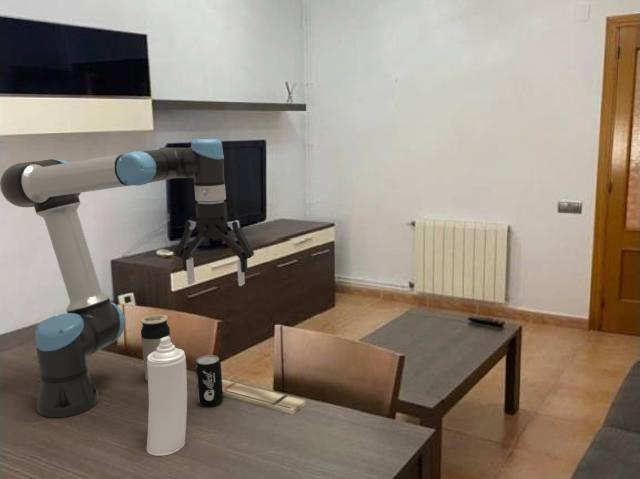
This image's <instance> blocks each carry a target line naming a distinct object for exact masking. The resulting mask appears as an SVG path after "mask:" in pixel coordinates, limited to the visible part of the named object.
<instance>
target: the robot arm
mask: <svg viewBox="0 0 640 479" xmlns="http://www.w3.org/2000/svg"><path fill="white" fill-rule="evenodd" d="M224 160H225V156H224V149H223V142H222V140H220V139H218V138H201V139H200V138H199V139H197V138H196V139H193V140H192V141H191V146H190V147H158V148H157V147H156V148H153V149H149V150H136V151H135V150H134V151H130V152H127V153H121V154H115V155H108V156H104V157H102V156H101V157H97V158H89V159H84V160H79V161H72V162H69V161H68V160H65V159H52V158H50V159H44V160H37V161H29V162H19V163H15V164H13V165H11V166H9V167H8V168H7V169H6V170H4V172H3V173H2V175H1V177H0V192H1V193H2V195H3V197H4V198H5V200H6V201H8V202H9V203H10V204H12V205H13V206H15V207H19V208H34V211H35V213H36V215H37V216H39V217H41V218H42V219H44V221H45V226H46V229H47V232H48V235H49V238H50V241H51V245H52V248H53V251H54V254H55V257H56V260H57V265H58V268H59V270H60V274H61V278H62V281H63V283H64V286H65V290H66V292H67V296H68V298H69V299H68V300H69V303H68V306H67V307H66V313H61V314H58V315H52V316H51V317H48V318H46V319H44V320H42V321H41V322H40V323H39V324H38V325H37V326H36V328H35V332H34V333H35V342H34V343H35V346H36V353H37V354H36V355H37V360H38V361H37V362H38V368H39V374H40V385H39V390H38V395H37V399H36V408H37V413H38V414H39V415H40V416H43V417H46V418H64V417H71V416H74V415H78V414H81V413H83V412H86V411H88V410H90V409H92V408H93V407H94V406H95V405H97V403H98V401H99V392H98V389H97V387H96V385H95V383H94V380H93V378H92V377H91V375H90V372H89V365H88V364H89V363H88V358H89V357H90V356H92V355H93V354H96V353H98V352H99V351H101V350H103V349H104V348H106V347H107V348H108V347H109V346H111V345H112V344H114V342H115V341H117V340H118V339H119V338H120V337H121V336H122V335H123V333H124V330H125V326H126V320H125V316H124V313H123V311H122V309H121V308H120V307H119V306H117V304H116V303H114V302H112V301H111V299H110V296H109V295H107V294H106V293H103V292H102V289H101V286H100V283H99V279H98V276H97V273H96V270H95V266H94V263H93V259H92V256H91V252H90V250H89V247H88V243H87V241H86V236H85V233H84V230H83V227H82V224H81V220H80V218H79V214H78V208H79V207H80V205H81V201H80V197H79V196H80V195H81V194H82V193H88V192H94V191H95V192H96V191H101V190H109V189H117V188H123V187H128V186H129V187H130V186H131V187H132V186H138V187H139V186H143V185H147V184H151V183H155V182H161V181H166V180H167V181H168V180H171V179H186V178H187V179H193V184H194V197H195V199H194V200H195V201H196V202H197V203H196V204H195V212H196V221H193V219H188V220H186V221H185V223H184V231H183V234H182V235H181V238H180V241H179V244H178V246H177V248H176V250H175V254H174V256H175V257H176V258H181V259H182V264H183V265H182V266H183V271H184V272H186V275H187V285H188V286H189V285H190V286H191V285H193V284H194V283H196V280H195V279H196V277H195V267H194V265H195V264H194V257H192V256H191V255H193V253H194V252H195V250H196V249H197V248H198V246H199V245H200V244H201V242H202V241H203V240H204V239H206V240H210V239H213V240H218V239H221V240H222V241H223V242H224V243H225V244H226V245H227V246H228V247H229V248H230V249H231V251H232V252H233V253H234V254H235V256H236V257H238V260H236V263H237V265H236V266H237V281H238V286H239V287H242V286H243V285H245V284H246V281H245V273H247V272H248V268H249V267H248V259H251V258H253V257H254V256H255V252H254V250H253V248H252V247H251V245H250V243H249V241H248V239H247V237H246V236H245V233H244V232H243V230H242V227H241V222H240V220H239V219H237V220H233V221H229V220H228V210H227V202H226V201H225V200H226V199H227V192H226V180H225V166H224V165H225V162H224ZM195 228H196V229H197V230H198V233H197V235H196V236H195V238H194V239H193V241H192V242H191V243H190V245H189V246H188V248H187V245H188V243H189V241H190V239H191V235H192V234H193V230H194V229H195ZM229 228H230V230H232V231H233V234H234V235H235V237H236V239H237V241H238V243H239V244H240V245H239V244H238V243H237V242H236V240H235V239H234V238H233V237H232V235H231V234H230V232H229V231H228V229H229ZM186 248H187V249H186Z"/></svg>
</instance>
